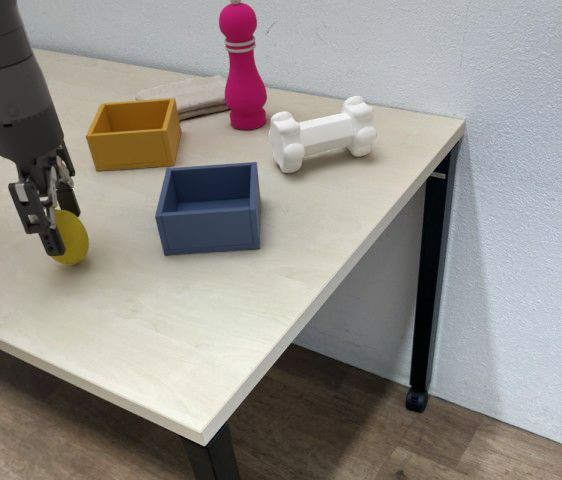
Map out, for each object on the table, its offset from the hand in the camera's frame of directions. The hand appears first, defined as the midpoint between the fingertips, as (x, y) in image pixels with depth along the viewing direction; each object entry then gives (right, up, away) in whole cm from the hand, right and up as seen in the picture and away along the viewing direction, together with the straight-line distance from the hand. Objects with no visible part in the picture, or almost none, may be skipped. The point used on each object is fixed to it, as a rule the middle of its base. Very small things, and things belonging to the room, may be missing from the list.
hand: (65, 234), depth 76 cm
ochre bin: (+4, +20, +25) cm, 33 cm away
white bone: (+34, +16, +19) cm, 42 cm away
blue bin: (+18, +3, +7) cm, 20 cm away
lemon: (0, -3, +3) cm, 5 cm away
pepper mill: (+21, +27, +31) cm, 46 cm away
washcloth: (+10, +32, +37) cm, 50 cm away
